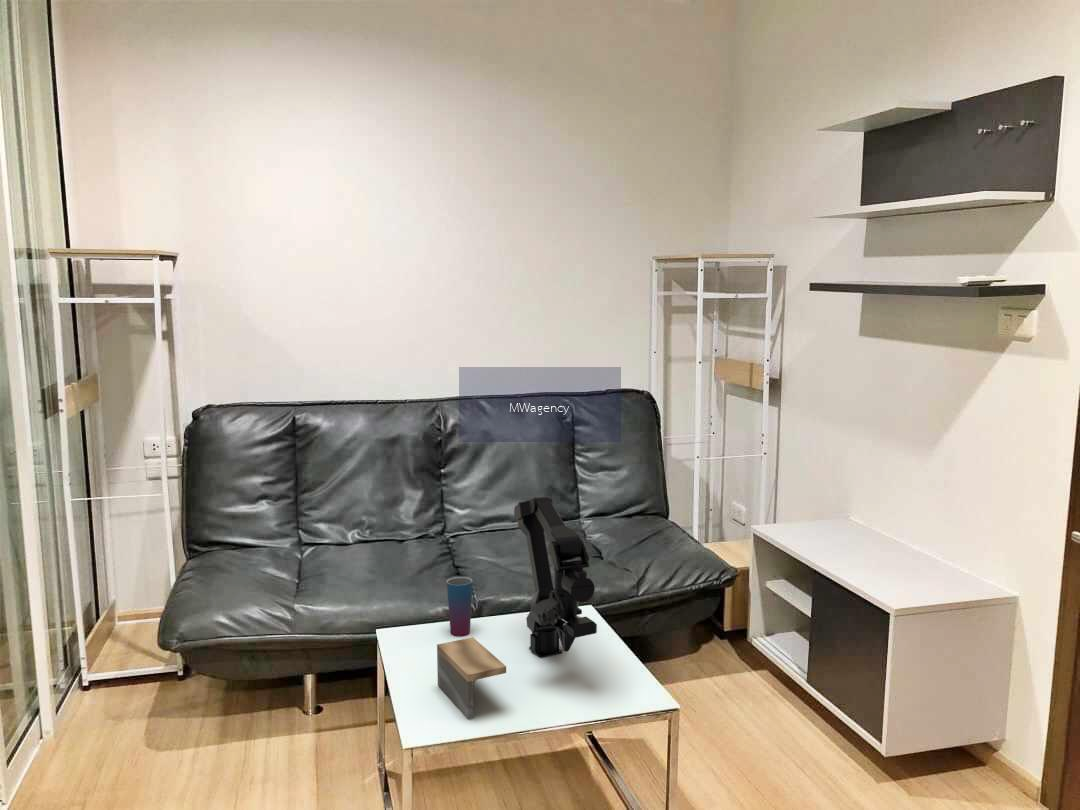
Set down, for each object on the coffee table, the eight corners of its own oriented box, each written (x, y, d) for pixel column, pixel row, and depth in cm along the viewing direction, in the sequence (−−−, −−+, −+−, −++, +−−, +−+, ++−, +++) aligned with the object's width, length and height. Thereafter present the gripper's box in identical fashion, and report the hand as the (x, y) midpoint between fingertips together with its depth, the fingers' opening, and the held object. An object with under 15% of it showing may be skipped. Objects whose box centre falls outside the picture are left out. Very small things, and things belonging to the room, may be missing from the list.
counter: (473, 677, 202) (473, 637, 200) (506, 710, 186) (506, 666, 185) (437, 685, 197) (437, 644, 196) (468, 719, 182) (467, 674, 180)
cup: (469, 641, 223) (468, 586, 221) (444, 639, 224) (443, 584, 222) (476, 631, 229) (475, 577, 227) (451, 629, 231) (451, 575, 229)
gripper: (517, 581, 205) (517, 643, 207) (555, 606, 188) (555, 673, 190) (558, 574, 210) (558, 634, 212) (598, 598, 193) (597, 663, 196)
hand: (565, 651), depth 202 cm, fingers closed
